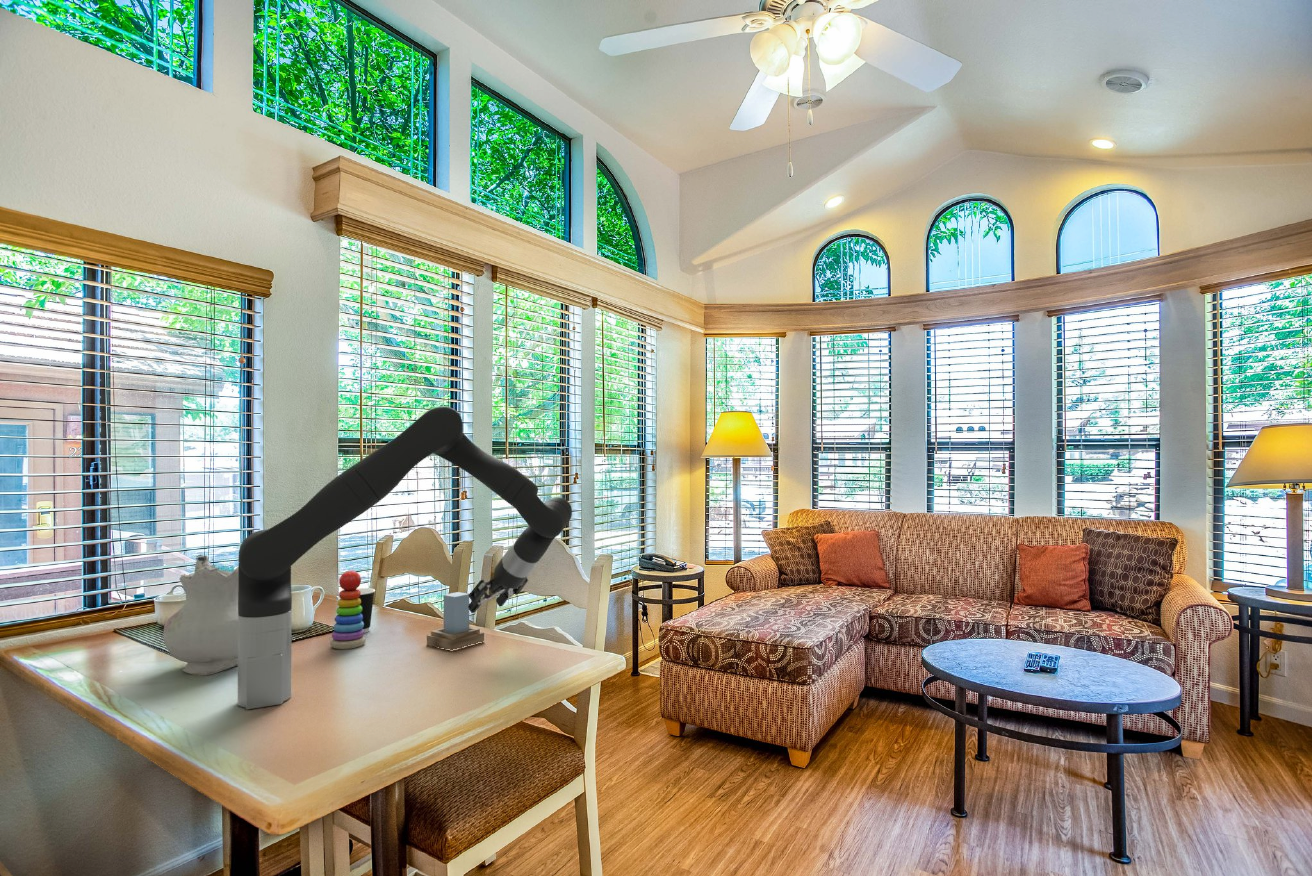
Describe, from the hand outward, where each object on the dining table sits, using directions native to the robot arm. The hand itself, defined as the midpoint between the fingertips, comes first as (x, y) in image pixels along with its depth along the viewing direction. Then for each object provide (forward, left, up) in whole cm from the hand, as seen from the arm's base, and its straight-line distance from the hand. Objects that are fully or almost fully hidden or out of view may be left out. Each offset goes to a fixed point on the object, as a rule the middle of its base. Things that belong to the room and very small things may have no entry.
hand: (484, 606), depth 169 cm
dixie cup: (+36, +25, -11) cm, 45 cm away
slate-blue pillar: (+10, +5, -8) cm, 14 cm away
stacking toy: (+22, +29, -11) cm, 38 cm away
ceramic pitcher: (+20, +58, -11) cm, 62 cm away
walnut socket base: (+10, +5, -11) cm, 16 cm away
